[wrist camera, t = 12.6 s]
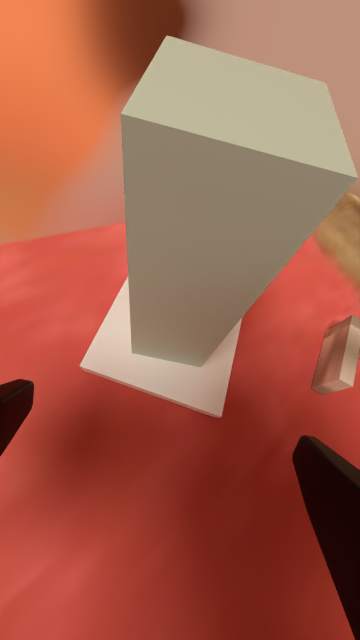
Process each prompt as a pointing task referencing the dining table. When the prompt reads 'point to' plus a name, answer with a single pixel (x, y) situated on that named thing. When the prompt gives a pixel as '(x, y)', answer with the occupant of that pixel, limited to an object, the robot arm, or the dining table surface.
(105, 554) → the dining table surface
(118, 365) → the ceramic tile
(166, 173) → the sage block
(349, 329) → the birch stall
